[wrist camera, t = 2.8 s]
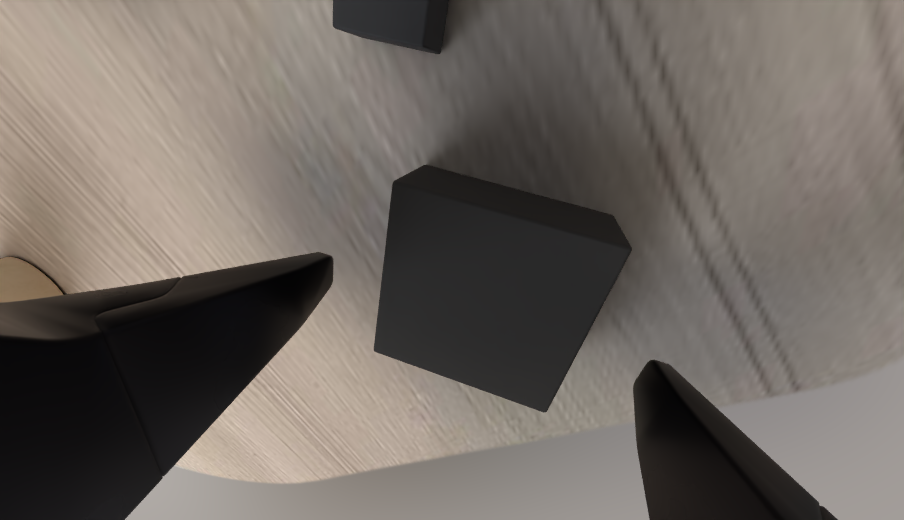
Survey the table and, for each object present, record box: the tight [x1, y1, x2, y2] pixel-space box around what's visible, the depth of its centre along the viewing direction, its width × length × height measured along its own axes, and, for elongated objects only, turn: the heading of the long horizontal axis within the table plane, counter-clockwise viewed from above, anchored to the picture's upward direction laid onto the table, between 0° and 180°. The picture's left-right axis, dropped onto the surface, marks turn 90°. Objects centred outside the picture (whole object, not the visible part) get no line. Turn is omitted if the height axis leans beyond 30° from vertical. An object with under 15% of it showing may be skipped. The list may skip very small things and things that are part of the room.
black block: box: [374, 165, 632, 412], centre depth 10 cm, size 6×6×2 cm
